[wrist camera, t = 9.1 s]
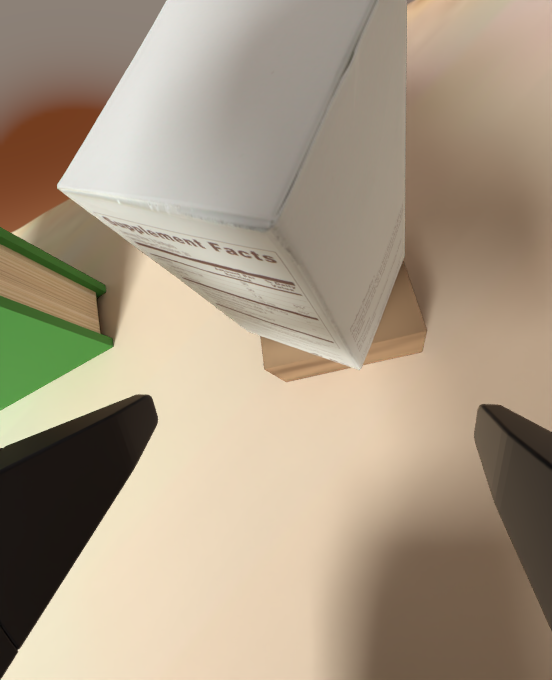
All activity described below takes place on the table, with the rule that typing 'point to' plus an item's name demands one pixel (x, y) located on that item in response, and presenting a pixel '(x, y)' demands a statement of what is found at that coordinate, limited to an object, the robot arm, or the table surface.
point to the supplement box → (263, 162)
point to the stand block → (389, 342)
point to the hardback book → (43, 318)
